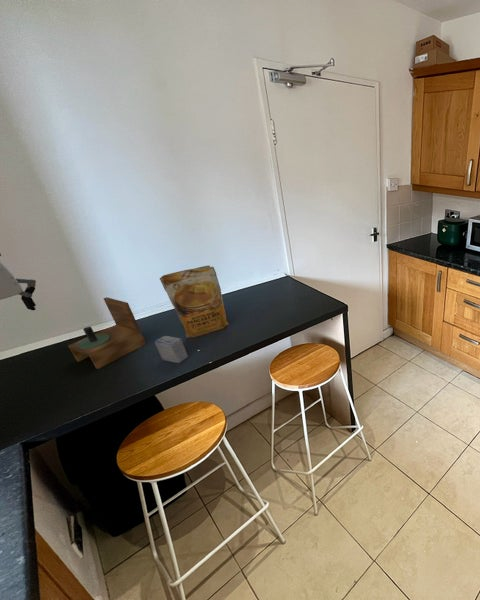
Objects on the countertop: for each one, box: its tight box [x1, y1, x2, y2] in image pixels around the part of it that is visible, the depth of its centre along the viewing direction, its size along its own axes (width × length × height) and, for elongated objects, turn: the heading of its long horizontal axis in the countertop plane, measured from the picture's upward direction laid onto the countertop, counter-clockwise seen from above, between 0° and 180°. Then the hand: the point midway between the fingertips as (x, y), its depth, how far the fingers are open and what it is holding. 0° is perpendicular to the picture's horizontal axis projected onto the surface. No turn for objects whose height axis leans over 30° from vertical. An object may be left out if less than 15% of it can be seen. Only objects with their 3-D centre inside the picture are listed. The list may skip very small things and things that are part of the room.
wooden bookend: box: [67, 297, 147, 370], centre depth 118 cm, size 17×13×19 cm
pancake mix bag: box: [159, 265, 229, 339], centre depth 130 cm, size 7×19×28 cm, turn 129°
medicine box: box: [154, 335, 189, 364], centre depth 117 cm, size 8×4×9 cm, turn 74°
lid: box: [78, 326, 110, 349], centre depth 115 cm, size 9×9×6 cm
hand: (9, 316), depth 91 cm, fingers open, 9 cm apart
